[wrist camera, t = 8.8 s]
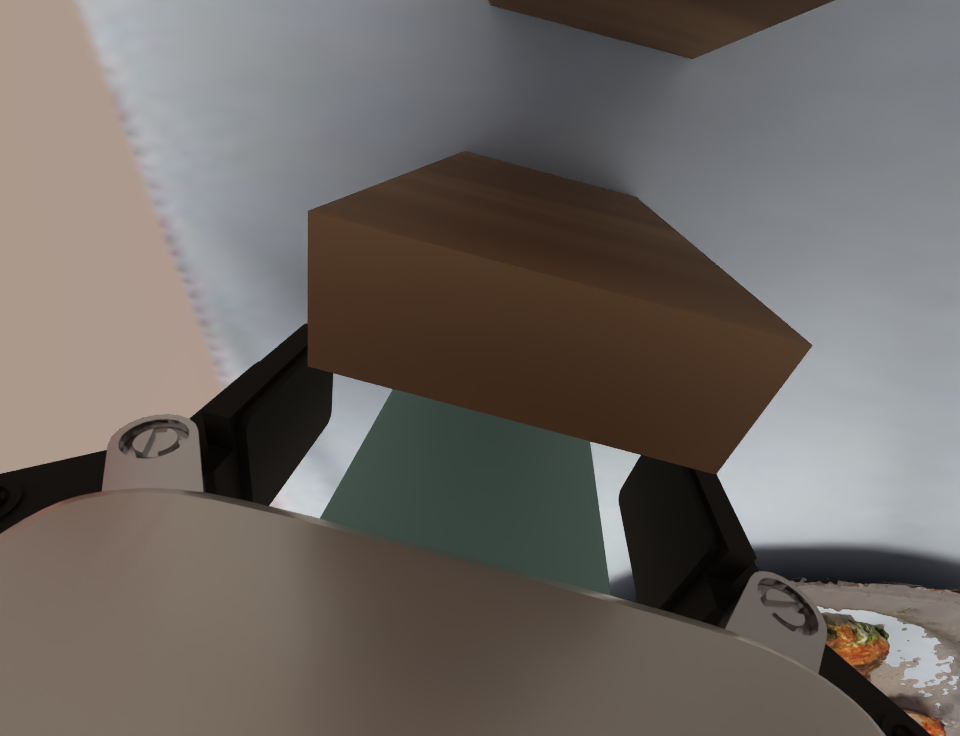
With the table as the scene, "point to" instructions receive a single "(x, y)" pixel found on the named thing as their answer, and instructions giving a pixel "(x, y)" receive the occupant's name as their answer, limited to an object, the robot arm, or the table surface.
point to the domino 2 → (477, 490)
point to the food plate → (864, 647)
